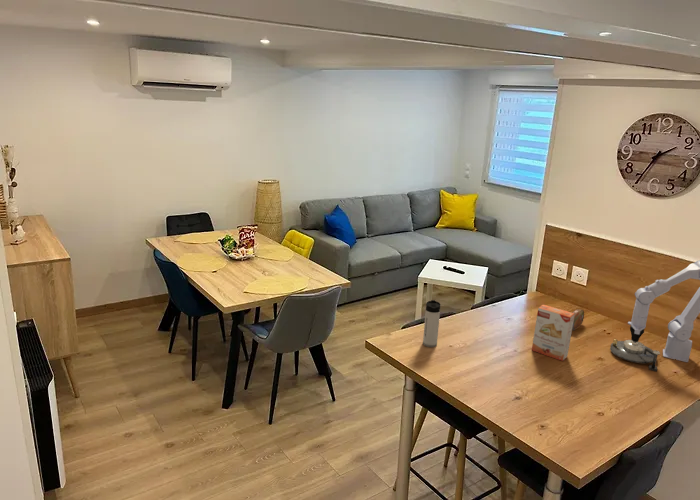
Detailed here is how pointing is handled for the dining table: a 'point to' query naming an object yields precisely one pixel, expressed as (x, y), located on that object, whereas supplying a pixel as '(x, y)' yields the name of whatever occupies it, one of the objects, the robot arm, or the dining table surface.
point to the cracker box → (553, 332)
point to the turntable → (637, 358)
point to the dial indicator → (655, 353)
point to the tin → (578, 318)
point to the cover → (633, 347)
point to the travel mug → (431, 323)
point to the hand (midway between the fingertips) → (634, 343)
